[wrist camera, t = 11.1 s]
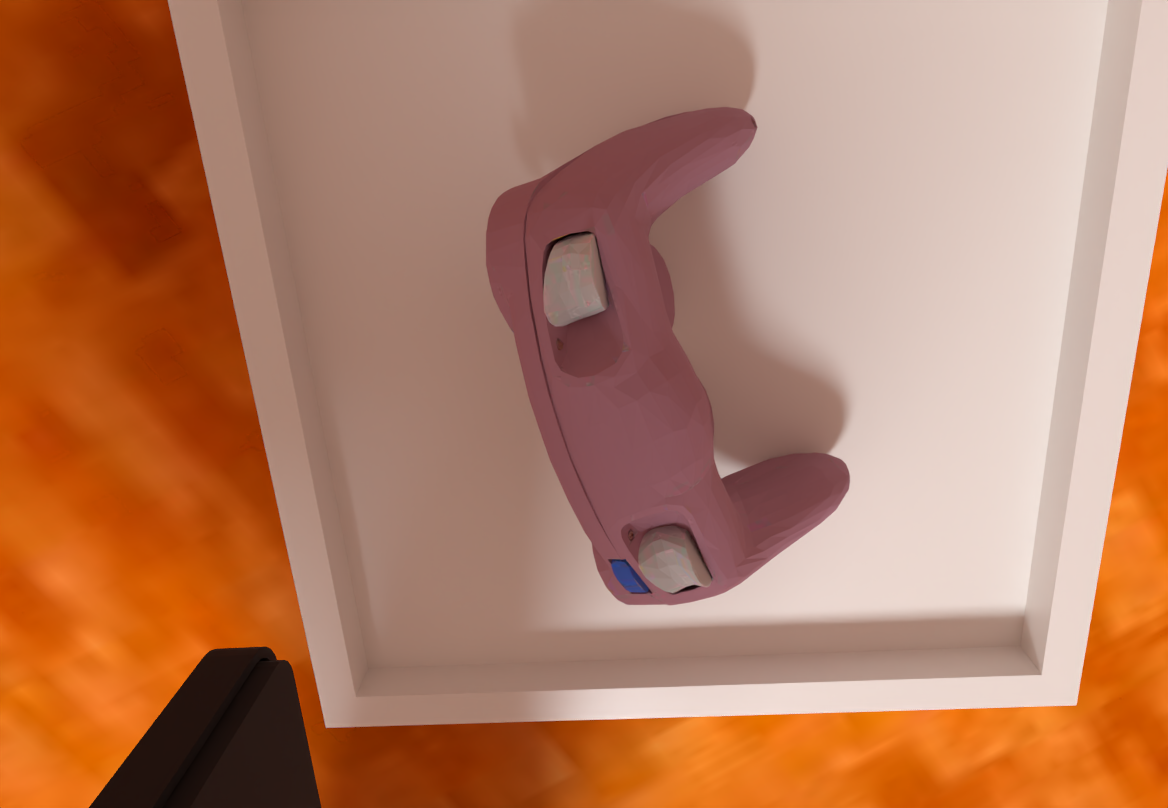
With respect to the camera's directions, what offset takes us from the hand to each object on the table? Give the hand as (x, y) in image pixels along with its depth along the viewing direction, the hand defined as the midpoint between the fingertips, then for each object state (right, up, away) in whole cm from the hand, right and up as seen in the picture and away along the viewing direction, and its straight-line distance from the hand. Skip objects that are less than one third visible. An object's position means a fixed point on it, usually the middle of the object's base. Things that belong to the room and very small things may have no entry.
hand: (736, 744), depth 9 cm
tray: (+1, +5, +12) cm, 13 cm away
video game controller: (+1, +5, +11) cm, 12 cm away
